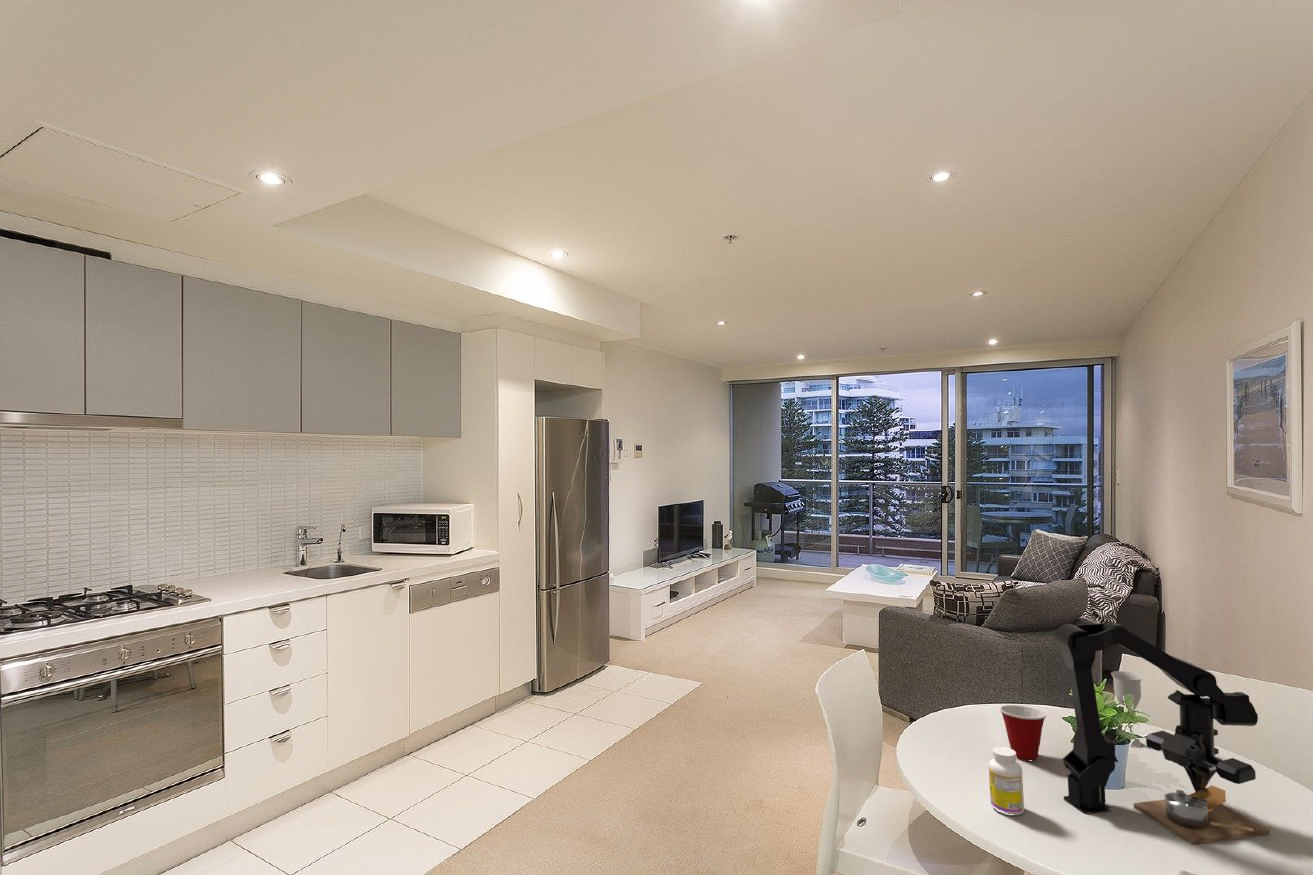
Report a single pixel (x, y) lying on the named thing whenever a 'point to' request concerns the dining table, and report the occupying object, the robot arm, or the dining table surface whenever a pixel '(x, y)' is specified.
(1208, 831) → the base plate
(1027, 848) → the dining table surface
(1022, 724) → the plastic cup
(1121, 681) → the chalice
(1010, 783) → the supplement bottle
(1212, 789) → the wood-handled metal tool
